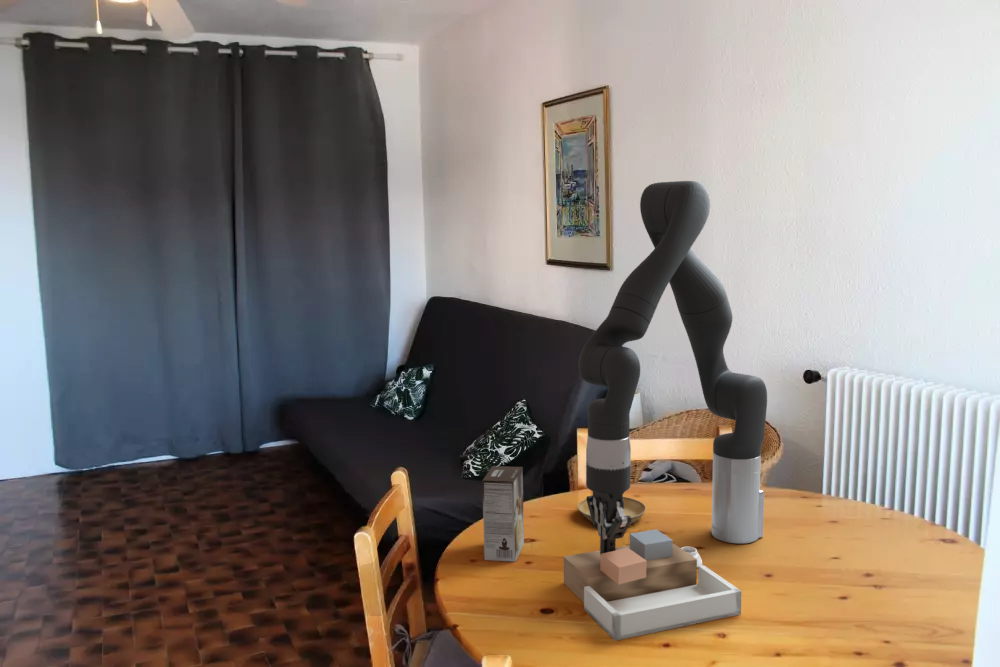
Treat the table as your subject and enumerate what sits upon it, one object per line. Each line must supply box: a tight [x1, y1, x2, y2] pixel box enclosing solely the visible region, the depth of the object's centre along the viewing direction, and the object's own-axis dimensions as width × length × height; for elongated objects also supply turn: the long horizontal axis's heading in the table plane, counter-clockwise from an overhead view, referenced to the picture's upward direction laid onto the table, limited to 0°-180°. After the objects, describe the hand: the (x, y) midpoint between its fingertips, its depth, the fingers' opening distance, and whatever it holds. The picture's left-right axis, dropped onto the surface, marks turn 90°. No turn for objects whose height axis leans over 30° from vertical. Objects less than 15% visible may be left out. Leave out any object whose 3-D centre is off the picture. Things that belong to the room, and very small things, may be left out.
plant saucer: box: [577, 496, 647, 525], centre depth 182 cm, size 15×15×3 cm
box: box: [583, 564, 743, 641], centre depth 138 cm, size 23×11×4 cm, turn 110°
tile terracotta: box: [600, 548, 647, 585], centre depth 142 cm, size 6×6×3 cm
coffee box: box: [481, 465, 525, 563], centre depth 163 cm, size 9×6×16 cm
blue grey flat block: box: [629, 528, 674, 561], centre depth 150 cm, size 6×6×3 cm
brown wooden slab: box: [563, 542, 698, 604], centre depth 149 cm, size 21×10×5 cm, turn 110°
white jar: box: [680, 546, 703, 568], centre depth 157 cm, size 5×3×5 cm
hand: (607, 557), depth 146 cm, fingers closed
